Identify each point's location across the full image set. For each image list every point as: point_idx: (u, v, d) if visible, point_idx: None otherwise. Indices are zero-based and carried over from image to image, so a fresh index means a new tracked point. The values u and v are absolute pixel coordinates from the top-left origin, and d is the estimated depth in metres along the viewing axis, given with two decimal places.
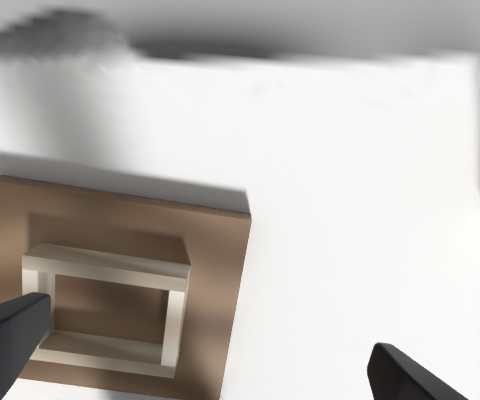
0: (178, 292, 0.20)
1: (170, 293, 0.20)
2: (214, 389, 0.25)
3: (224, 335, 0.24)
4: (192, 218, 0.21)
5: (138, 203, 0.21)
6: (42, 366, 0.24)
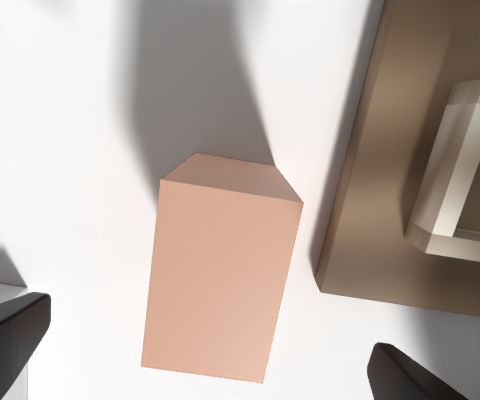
0: None
1: None
2: None
3: None
4: None
5: None
6: (391, 280, 0.17)
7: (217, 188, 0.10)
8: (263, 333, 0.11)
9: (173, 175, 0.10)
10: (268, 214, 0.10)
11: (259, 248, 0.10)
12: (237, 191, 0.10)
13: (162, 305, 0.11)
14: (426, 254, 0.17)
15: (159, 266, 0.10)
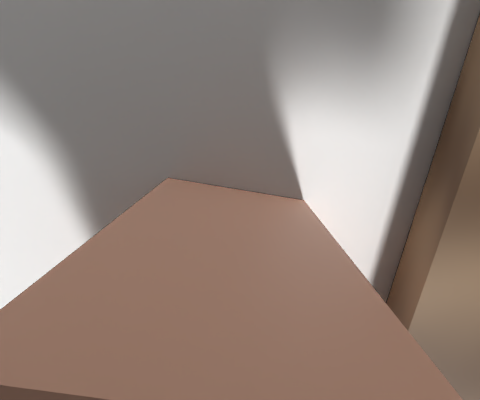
0: None
1: None
2: None
3: None
4: None
5: None
6: None
7: (162, 398, 0.02)
8: None
9: (30, 306, 0.03)
10: None
11: None
12: None
13: None
14: None
15: None
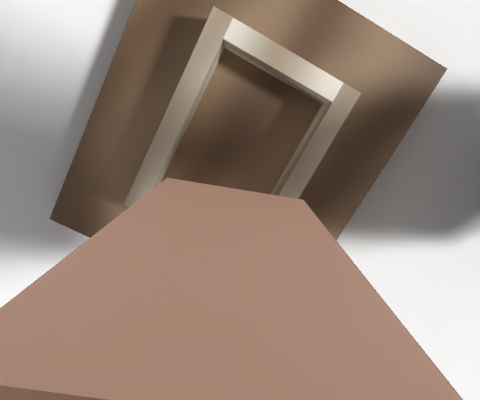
0: (230, 26, 0.14)
1: (228, 39, 0.14)
2: (420, 64, 0.17)
3: (339, 13, 0.16)
4: None
5: (114, 57, 0.16)
6: None
7: (160, 399, 0.02)
8: None
9: (28, 306, 0.03)
10: None
11: None
12: None
13: None
14: None
15: None
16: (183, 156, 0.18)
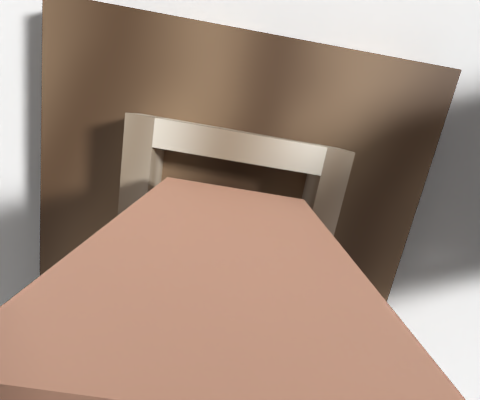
0: (156, 129, 0.11)
1: (158, 145, 0.11)
2: (422, 76, 0.12)
3: (292, 52, 0.12)
4: (54, 107, 0.12)
5: (41, 196, 0.13)
6: None
7: (161, 397, 0.02)
8: None
9: (28, 304, 0.03)
10: None
11: None
12: None
13: None
14: None
15: None
16: None
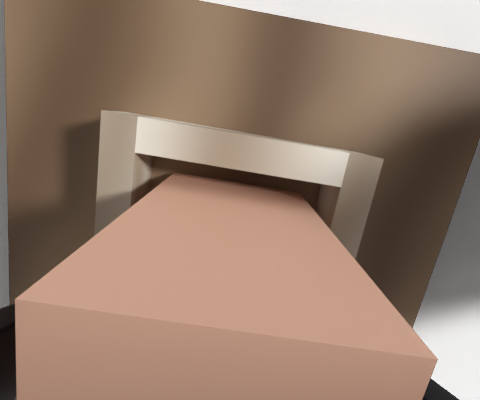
0: (139, 131, 0.09)
1: (142, 150, 0.09)
2: (460, 67, 0.10)
3: (305, 37, 0.10)
4: (20, 104, 0.10)
5: (8, 209, 0.11)
6: None
7: (188, 319, 0.03)
8: None
9: (80, 262, 0.04)
10: (334, 386, 0.03)
11: None
12: (246, 324, 0.03)
13: None
14: None
15: None
16: None
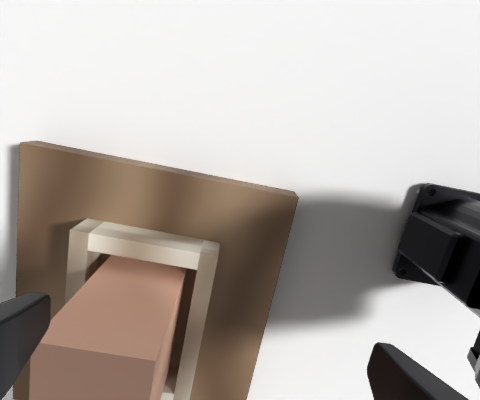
0: (89, 240, 0.17)
1: (91, 249, 0.17)
2: (273, 200, 0.18)
3: (186, 183, 0.18)
4: (26, 212, 0.18)
5: (17, 268, 0.19)
6: (229, 387, 0.22)
7: (81, 348, 0.11)
8: None
9: (51, 326, 0.12)
10: (126, 368, 0.12)
11: (121, 394, 0.12)
12: (99, 349, 0.11)
13: None
14: (206, 366, 0.21)
15: None
16: None
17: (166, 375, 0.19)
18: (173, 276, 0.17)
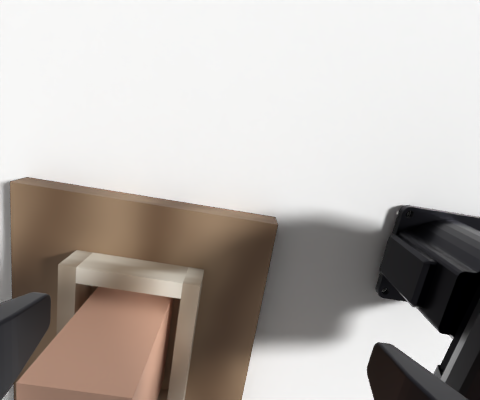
0: (77, 273, 0.17)
1: (79, 282, 0.18)
2: (253, 228, 0.19)
3: (169, 214, 0.19)
4: (19, 246, 0.19)
5: (12, 298, 0.20)
6: None
7: (63, 387, 0.12)
8: None
9: (36, 365, 0.13)
10: None
11: None
12: (80, 388, 0.12)
13: None
14: (197, 387, 0.22)
15: None
16: None
17: (156, 398, 0.20)
18: (158, 305, 0.18)
